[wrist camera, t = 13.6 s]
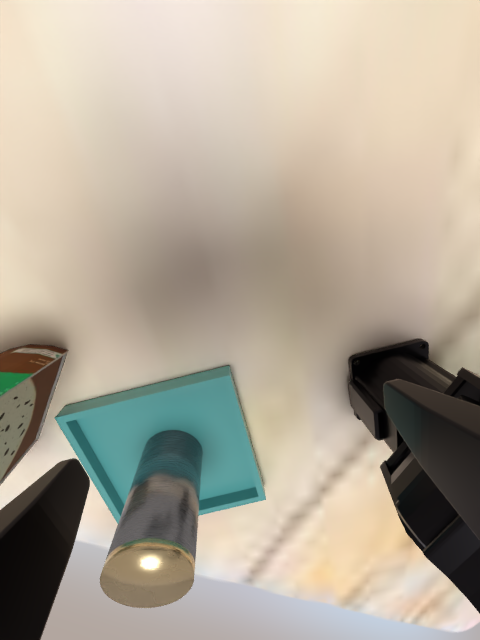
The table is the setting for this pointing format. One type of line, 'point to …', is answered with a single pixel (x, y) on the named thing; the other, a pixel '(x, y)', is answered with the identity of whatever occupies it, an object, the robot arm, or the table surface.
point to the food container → (25, 398)
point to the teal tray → (161, 415)
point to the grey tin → (157, 525)
